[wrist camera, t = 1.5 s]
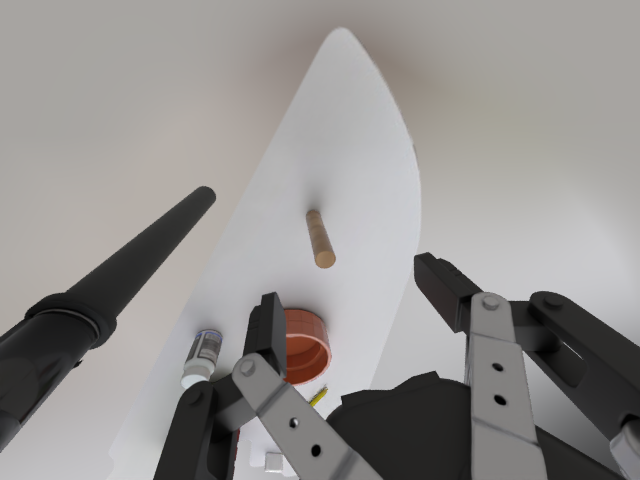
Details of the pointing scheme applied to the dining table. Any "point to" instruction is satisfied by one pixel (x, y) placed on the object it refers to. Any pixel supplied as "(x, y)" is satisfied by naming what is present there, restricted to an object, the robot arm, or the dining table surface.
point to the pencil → (318, 397)
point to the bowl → (305, 347)
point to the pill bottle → (201, 358)
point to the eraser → (273, 462)
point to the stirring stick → (320, 240)
